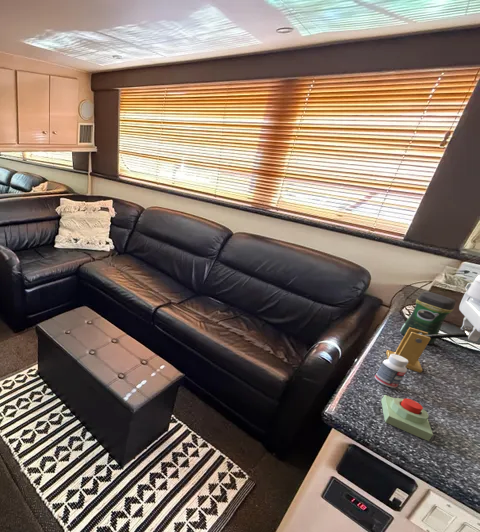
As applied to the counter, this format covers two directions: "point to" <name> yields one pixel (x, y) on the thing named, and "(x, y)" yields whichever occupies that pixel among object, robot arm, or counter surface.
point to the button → (411, 406)
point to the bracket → (412, 348)
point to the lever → (447, 335)
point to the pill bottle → (392, 371)
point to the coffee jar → (429, 313)
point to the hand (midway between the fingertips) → (467, 335)
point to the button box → (406, 418)
